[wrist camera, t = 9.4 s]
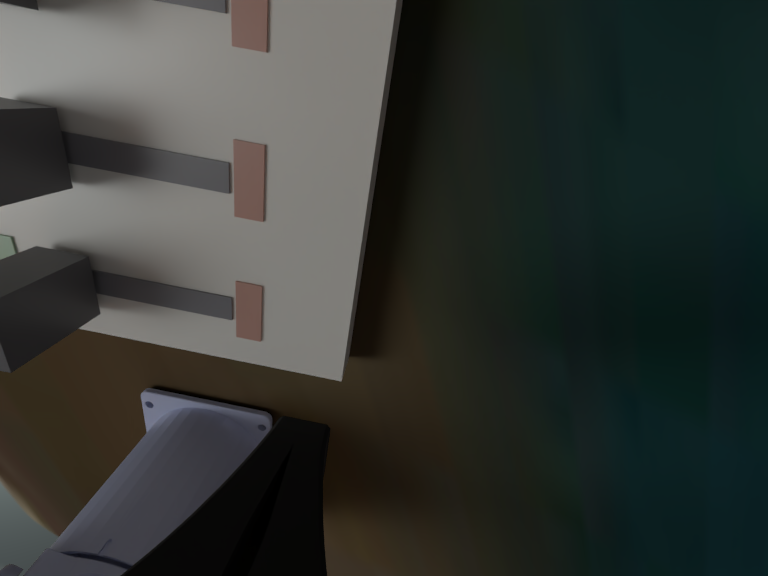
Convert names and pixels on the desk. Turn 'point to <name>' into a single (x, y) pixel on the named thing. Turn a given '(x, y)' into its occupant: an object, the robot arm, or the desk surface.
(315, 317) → the breaker panel
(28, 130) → the block
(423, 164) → the desk surface
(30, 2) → the block
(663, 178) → the desk surface
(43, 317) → the block
